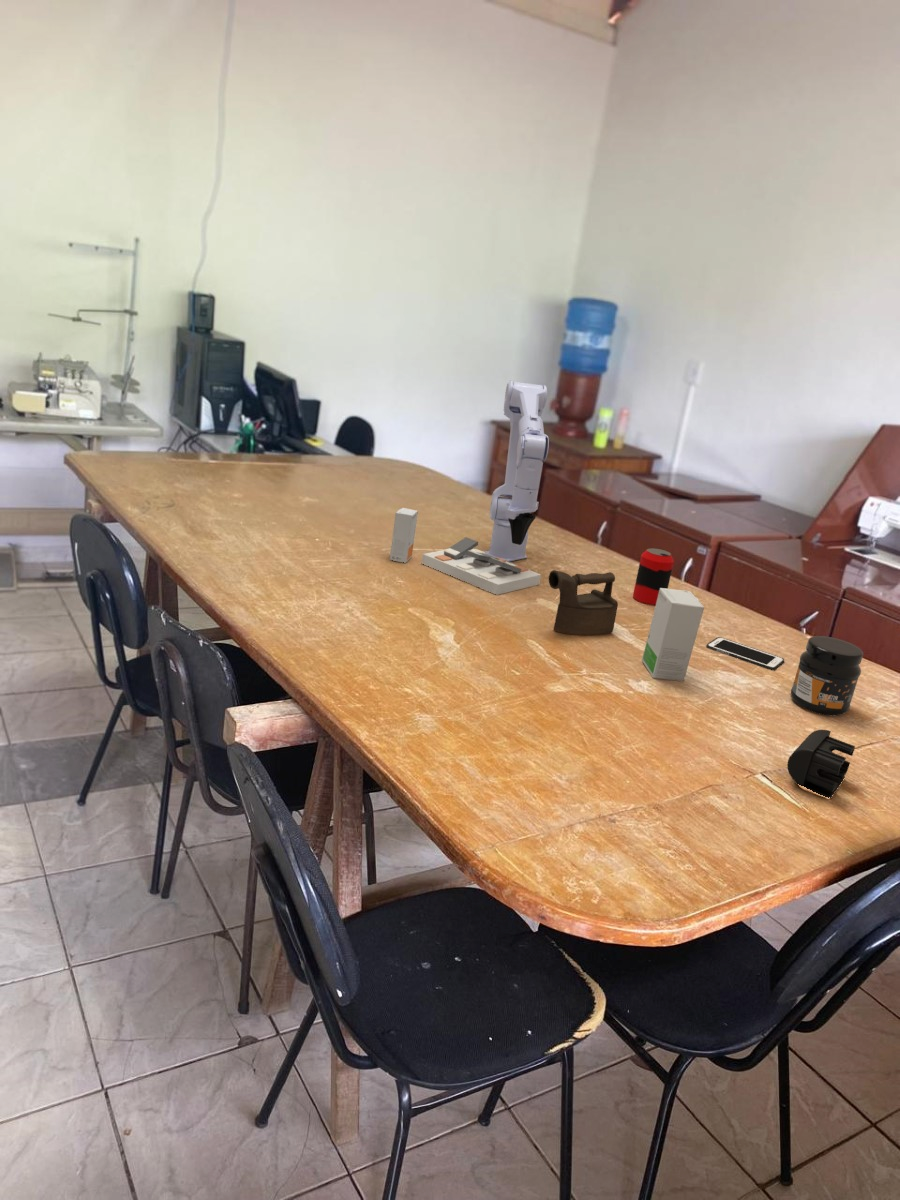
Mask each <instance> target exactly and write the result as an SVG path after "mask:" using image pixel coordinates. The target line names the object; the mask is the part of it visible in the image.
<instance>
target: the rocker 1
mask: <svg viewBox="0 0 900 1200" xmlns="http://www.w3.org/2000/svg"><path fill="white" fill-rule="evenodd" d="M477 546H479V542H478V541H477V540H475V539H473V538H469V537H467V536H465V537H464V538H462V539H461V540H458V541H457V542H456V543H454V544H453V545H452V546H450V547H448V548H447V549H444V550H445V551H444V555H445V556H448V557H450V558H453V559H455V560H457V559H458V558H460V557H461V556H463V555H464V554H466V551H467V550H472V549H476V547H477Z"/></svg>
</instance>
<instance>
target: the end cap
mask: <svg viewBox="0 0 900 1200" xmlns="http://www.w3.org/2000/svg"><path fill="white" fill-rule="evenodd" d="M831 732H832V731H831V730H828V729H818V730H814V731H813V732H811V733H810V734H809V735H808V736H806V738H805V739H804V740H803V741H802V742H801V743H800V744H799V746H797V747H796V749H795V750H793V752H792V753H791V754H790V756H789V757H788V760H787V767H786V768H787V772H788V774H789V776H790V777H791V779H792V780H793V781H794V782H795V783H797V784H799V785H801V786H804V787H806V788H807V789H810V790H812V791H813V792H816V793H818V794H820V795H823V796H825V797H828V798H829V797H830V798H831V797H832V798H833V796H834V795H835V793H836V792H837V791H838V789H839V788H840V786H841V785H842V784H841V782H842V781H843V779H844V778H846V774H847V773H848V770H849V767H850V764H851V762H850V761H848V760H847V757H845V756H842V755H840V754H838V753H837V754H836V752H835V753H834V752H833V751H838V752H841V753H843V754H846V755H849V756H851V757H852V756H853V755H854V753H855V749H856V745H854V744H853V745H852V744H851V743H847V742H845V741H842V740H839V739H837V738H834V737H832V736H831ZM844 780H845V779H844ZM843 782H844V781H843ZM843 782H842V783H843ZM797 784H796V785H797ZM840 784H841V785H840ZM839 785H840V786H839ZM838 787H839V788H838ZM837 788H838V789H837ZM836 790H837V791H836ZM835 791H836V792H835ZM834 792H835V793H834ZM833 794H834V795H833ZM832 795H833V796H832ZM832 798H831V799H832Z"/></svg>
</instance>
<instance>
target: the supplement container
mask: <svg viewBox="0 0 900 1200" xmlns="http://www.w3.org/2000/svg"><path fill="white" fill-rule="evenodd" d="M863 657H864V652H863V650H862V649H861V648H859V646H857V645H855V644H853V643H852V642H848V641H846V640H843V639H839V638H836V637H830V636H824V635H816V636H815V635H814V636H811V637H809V638H808V640H807V644H806V646H805V651H803V652H802V653H801V654H800V656H799V663H798V667H797V670H796V673H795V676H794V680H793V684H792V687H791V689H790V697H791V698H792V700H793V701H794V703H795V704H797V705H798V706H799V707H801V708H803V709H805V710H808V711H810V712H812V711H813V713H815V712H816V713H815V714H819V713H820V715H823V714H824V716H830V715H832V717H833V715H836V716H841V715H844V714H846V713H847V712H848V711H849V710H850V707H851V702H852V699H853V696H854V694H855V693H854V692H855V690H856V687H857V684H858V680H859V678H860V676H861V675H862V668H861V666H860V665H861V663H862V659H863Z"/></svg>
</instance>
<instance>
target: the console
mask: <svg viewBox="0 0 900 1200" xmlns="http://www.w3.org/2000/svg"><path fill="white" fill-rule="evenodd" d="M445 550H446V549H443V550H437V551H431V552H427V553H426V552H425V553H422V556H421V563H422V564H421V565H423V564H424V566H426V567H428V566H429V567H428V568H430V567H432V568H431V569H433V568H434V569H433V570H435V569H436V570H435V571H438V570H439V571H438V572H440V571H441V572H440V573H442V572H443V573H442V574H445V573H446V574H445V575H447V574H448V575H447V576H450V575H451V577H452V576H453V577H452V578H454V577H456V578H455V579H457V578H458V579H457V580H459V579H460V580H459V581H462V580H463V581H462V582H464V581H465V582H464V583H466V582H467V584H469V583H470V584H469V585H471V584H472V586H474V587H476V586H477V587H476V588H478V587H480V588H479V589H481V590H483V589H484V590H483V591H485V592H488V591H489V592H488V593H490V592H491V593H490V594H492V595H495V594H496V595H495V596H498V595H501V594H502V595H503V594H507V593H511V592H514V591H518V590H524V589H527V588H531V587H536V586H539V585H540V583H541V577H542V575H541V574H540V573H539V572H535V571H533V570H530V569H529V568H527V567H524V566H522V565H519V564H518V565H517V564H514V563H512V562H510V561H509V562H507V561H506V560H504V559H501V558H499V557H496V558H498V559H499V560H500V561H503V562H505V563H507V564H509V565H512V566H514V567H517V568H520V569H521V572H520V573H518V572H515V571H512V570H510V569H507V568H504V567H501V566H499V565H496V564H494V563H491V562H489V561H485V560H479V559H476V558H473V557H471V556H468V555H466V554H464V555H463V556H461V557H460V558H458V559H457V560H455V559H453V558H450V557H448V556H445V555H444V551H445ZM470 551H474V552H478V553H484V554H486V553H485V552H484V551H482V550H480V549H478V548H473V549H472V550H470ZM488 555H489V554H488ZM493 557H494V556H493Z"/></svg>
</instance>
